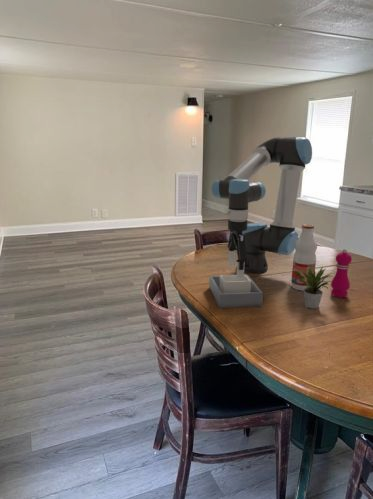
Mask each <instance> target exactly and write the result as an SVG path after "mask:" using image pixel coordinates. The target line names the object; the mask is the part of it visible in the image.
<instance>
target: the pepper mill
mask: <svg viewBox="0 0 373 499" xmlns="http://www.w3.org/2000/svg"><path fill="white" fill-rule="evenodd" d="M352 259H353V257H352V255H351V254H350V253H348V250H347V249H346V248H343V249H342V252H338V253H337V255H336V257H335V261H336V264H335V267H336V272H335V274H334V276H333V277H332V280H331V281H333V282H330V286H331V288H332V289H331V291H330V294H331V296H333V295H334V296H333V297H335V296H337V297H336V298H339V297H345V298H346V296H347V297H348V293H349V292H348V290H349V289H350V286H351V282H350V280H349V276H348V270H349V269H350V264H351V263H352Z"/></svg>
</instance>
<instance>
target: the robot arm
mask: <svg viewBox="0 0 373 499" xmlns="http://www.w3.org/2000/svg"><path fill="white" fill-rule="evenodd" d="M312 159H313V147H312V144H311V141H310V139H309V138H307V137H302V136H301V137H300V136H297V137H296V136H291V137H290V136H289V137H285V136H284V137H279V136H278V137H277V136H276V137H273V138H271V139H268V140H265V141H264V142H263V143H261V144H259V145H258V146H257V147H255V148H254V150H253V151H252V153H251V155H249V157H248V158H247V159H245V160H244V161H243V162H242V163H241V164H239V165H238V167H236V168H235V169H233V171H232V172H231V173H229V174H228V175H227V176H226V177H225V178H224V179H223V180H222V179H216V180H214V181H213V182H212V184H211V189H210V190H211V194H212V196H214V198H218V199H225V200H228V211H227V212H226V214H227V215H228V217H227V218H228V220H227V230H228V231H229V236H228V241H227V242H228V243H227V248H228V267H235V266H236V275H237V278H239V277H244V275H245V273H250V274H251V273H253V274H260V273H265V272H267V271H268V270H269V269H268V268H269V263H268V260H267V256H266V252H268V253H272V254H277V255H284V256H289V255H290V254H292V253H293V252H295V251H294V250H295V242H296V241H297V240H298V238H299V233H298V232H297V231H296V226H295V225H294V224H293V220H294V218H295V217H294V216H295V209H296V203H297V197H298V193H299V192H298V191H299V185H300V181H301V180H300V178H301V174H302V173H301V172H303V171H304V170H305V169H306V165H309V164H310V162H311V161H312ZM272 163H274V164H277V163H279V165H278V166H279V167H280V169H281V175H280V180H279V186H278V192H277V200H276V206H275V211H274V218H273V221H272V222H270V223H269V226H268V224H267V223H266V222H254V223H251V222H250V223H248V220H249V219H248V218H249V203H253V202H257V201H259V200H262V199H263V198H264V197H265V195H266V191H267V190H266V187H265V184H263V183H262V182H259V181H258V182H257V181H253V182H250V181H249V180H251V178H252V177H253V176H254V175H256V174H257V173H258V172H259V171H260V170H261V169H262V168H263V167H267V166H268V165H270V164H272ZM236 256H237V259H236Z"/></svg>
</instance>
